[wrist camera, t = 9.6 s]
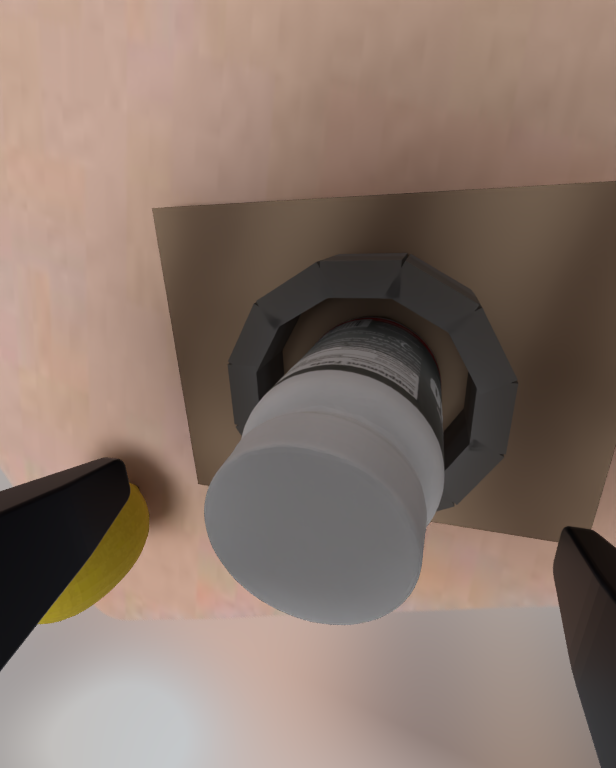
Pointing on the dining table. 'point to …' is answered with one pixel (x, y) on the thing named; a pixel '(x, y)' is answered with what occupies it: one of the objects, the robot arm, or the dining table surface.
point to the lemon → (106, 561)
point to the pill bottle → (336, 478)
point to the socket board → (419, 328)
